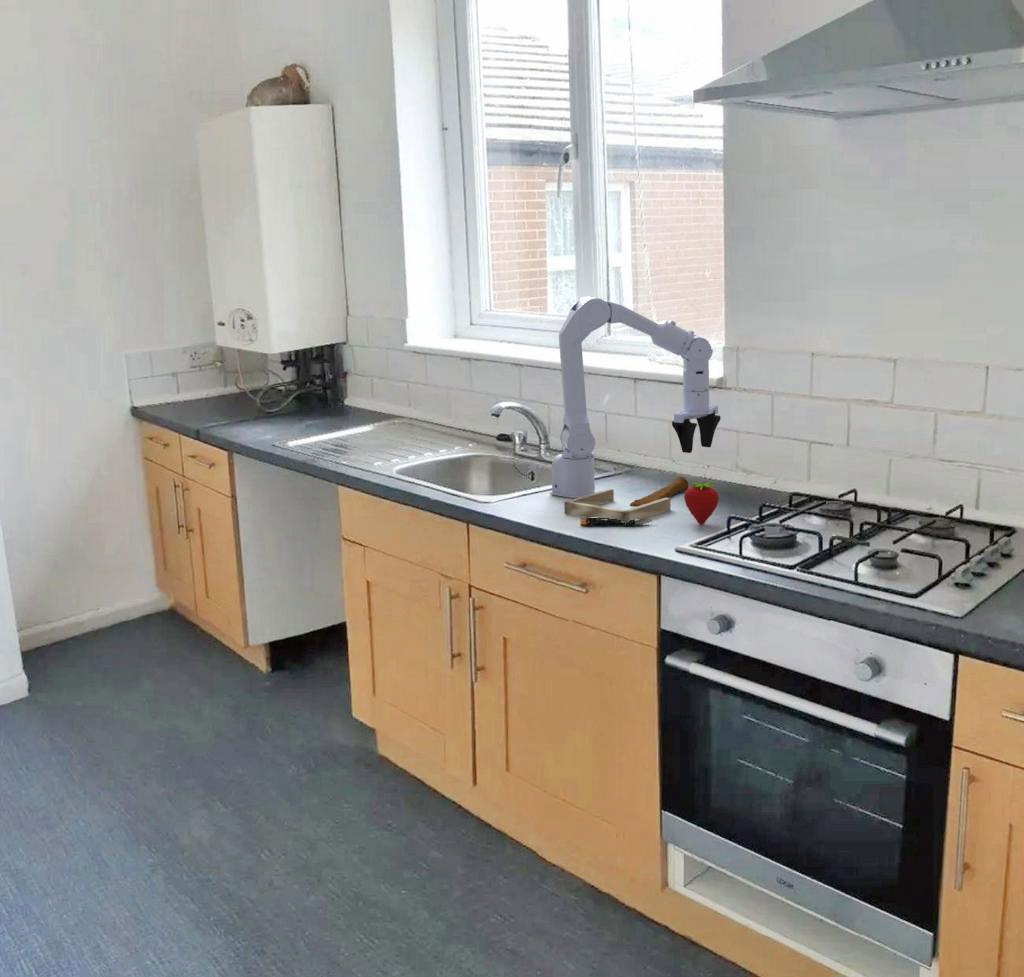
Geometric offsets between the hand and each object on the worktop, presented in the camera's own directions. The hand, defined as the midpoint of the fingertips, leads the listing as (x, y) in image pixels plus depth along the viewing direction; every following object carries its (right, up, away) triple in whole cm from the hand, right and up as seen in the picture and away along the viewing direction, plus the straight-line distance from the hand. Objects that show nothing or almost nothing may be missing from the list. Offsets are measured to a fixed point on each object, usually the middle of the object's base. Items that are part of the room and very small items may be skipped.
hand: (696, 449), depth 248 cm
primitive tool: (-9, -12, -8) cm, 17 cm away
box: (-19, -14, -18) cm, 30 cm away
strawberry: (-4, -16, -31) cm, 35 cm away
